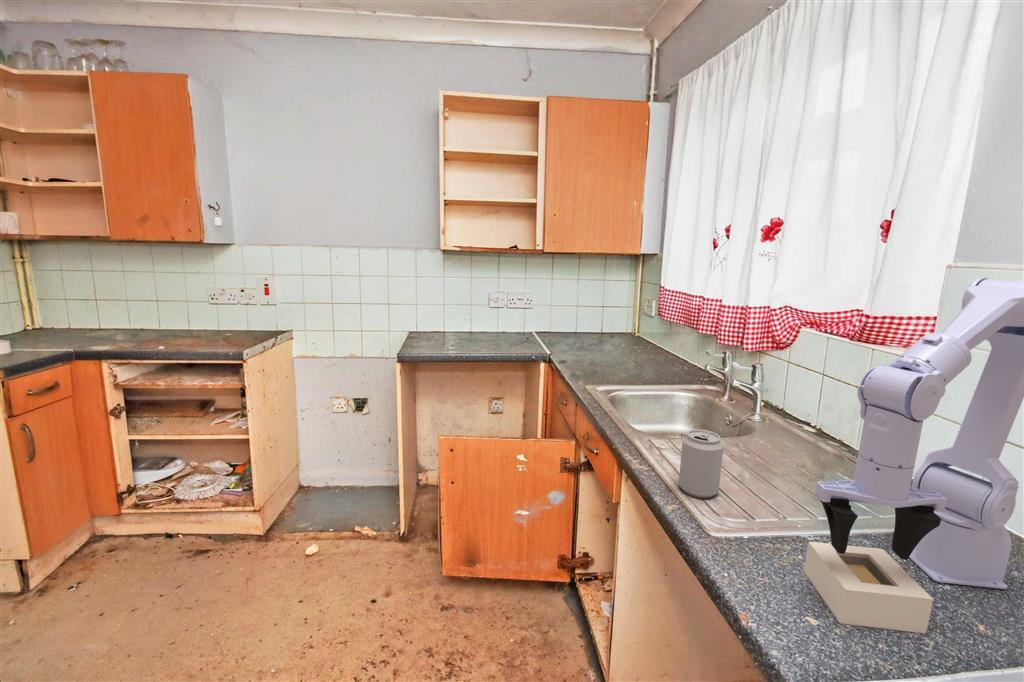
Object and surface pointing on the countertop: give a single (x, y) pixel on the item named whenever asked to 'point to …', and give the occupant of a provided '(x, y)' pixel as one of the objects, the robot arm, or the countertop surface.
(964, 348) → the robot arm
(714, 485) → the can
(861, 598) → the box
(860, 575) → the block
